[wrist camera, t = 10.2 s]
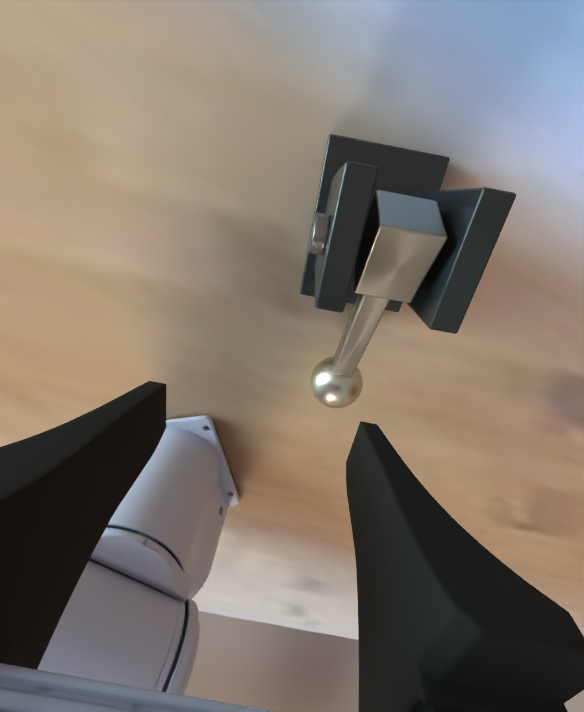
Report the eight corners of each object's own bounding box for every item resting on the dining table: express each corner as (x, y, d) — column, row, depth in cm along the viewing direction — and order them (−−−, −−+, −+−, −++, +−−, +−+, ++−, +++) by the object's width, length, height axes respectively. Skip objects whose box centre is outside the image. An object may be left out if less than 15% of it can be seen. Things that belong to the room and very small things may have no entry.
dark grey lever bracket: (394, 306, 20) (451, 381, 12) (300, 289, 20) (291, 352, 12) (441, 160, 17) (569, 120, 8) (328, 138, 17) (343, 75, 8)
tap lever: (354, 379, 21) (354, 421, 19) (309, 371, 21) (304, 412, 19) (447, 198, 12) (464, 245, 10) (364, 182, 11) (366, 227, 10)
